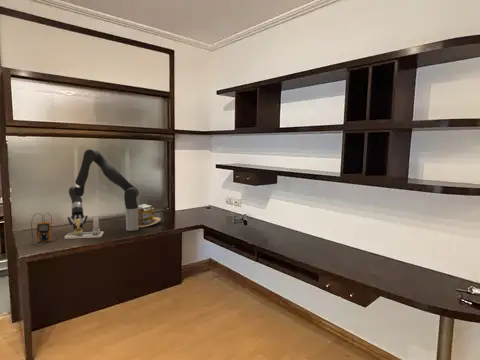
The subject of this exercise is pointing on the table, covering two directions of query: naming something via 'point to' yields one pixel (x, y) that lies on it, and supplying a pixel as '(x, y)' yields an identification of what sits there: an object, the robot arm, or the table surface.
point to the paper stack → (146, 215)
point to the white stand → (92, 234)
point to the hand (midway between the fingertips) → (78, 228)
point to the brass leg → (77, 226)
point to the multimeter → (43, 231)
